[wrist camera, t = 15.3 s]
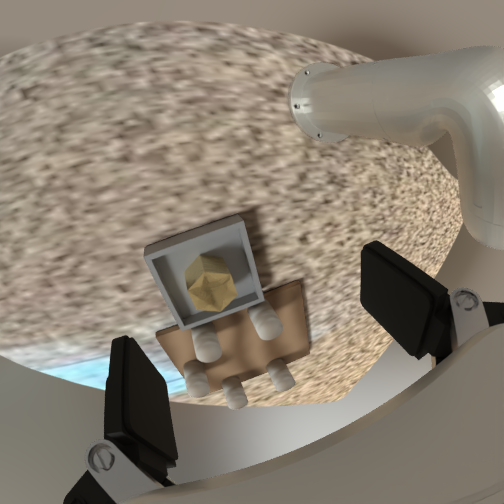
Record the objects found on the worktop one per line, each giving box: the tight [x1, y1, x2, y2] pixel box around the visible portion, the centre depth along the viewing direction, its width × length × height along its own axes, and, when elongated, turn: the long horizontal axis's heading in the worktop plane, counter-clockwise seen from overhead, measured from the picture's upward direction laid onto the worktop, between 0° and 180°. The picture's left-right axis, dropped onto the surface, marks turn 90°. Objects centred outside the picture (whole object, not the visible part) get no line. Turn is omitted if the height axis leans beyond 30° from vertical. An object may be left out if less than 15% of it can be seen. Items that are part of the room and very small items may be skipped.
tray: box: [144, 214, 265, 331], centre depth 39 cm, size 14×14×3 cm
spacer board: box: [156, 280, 310, 409], centre depth 47 cm, size 26×21×7 cm
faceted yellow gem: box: [184, 254, 238, 312], centre depth 38 cm, size 7×6×5 cm
